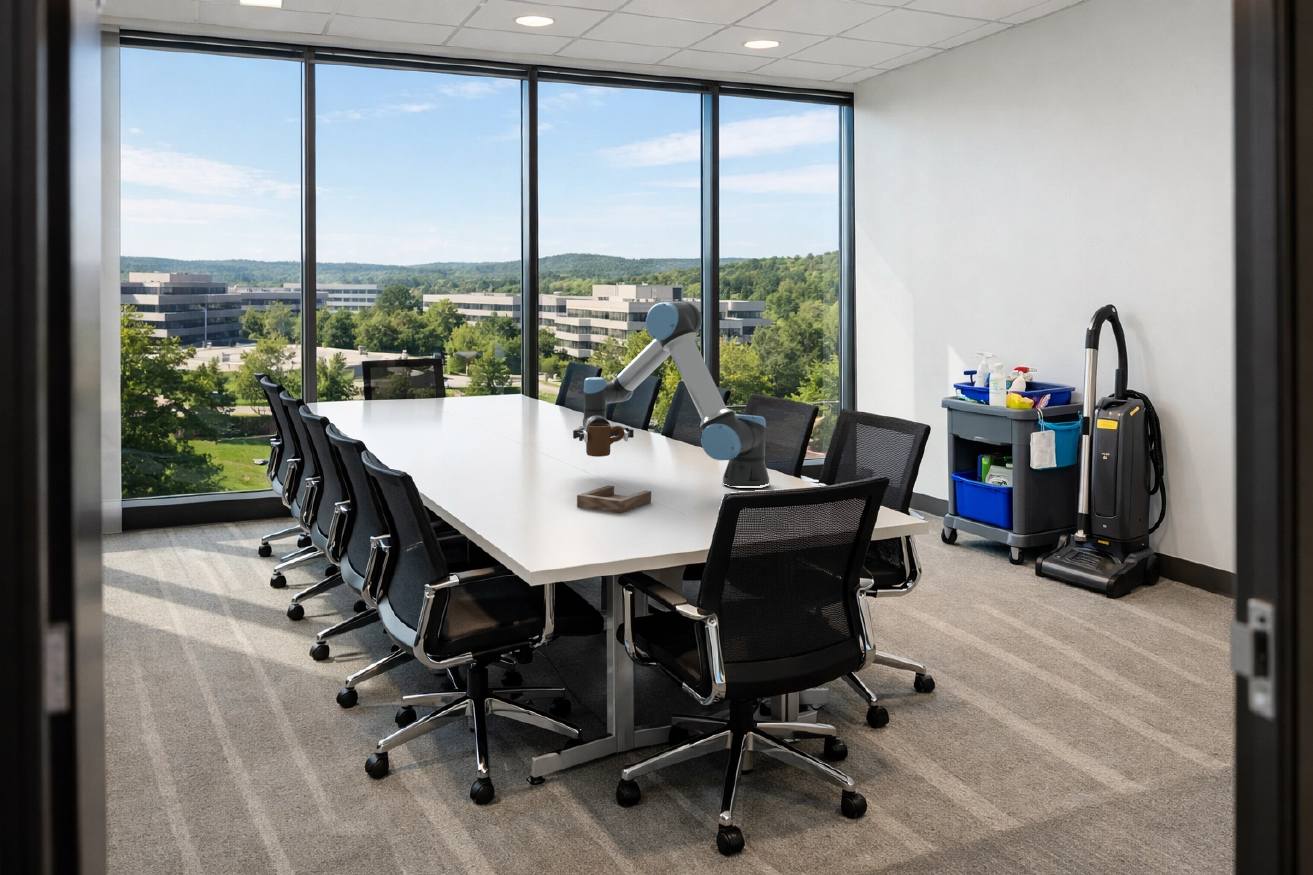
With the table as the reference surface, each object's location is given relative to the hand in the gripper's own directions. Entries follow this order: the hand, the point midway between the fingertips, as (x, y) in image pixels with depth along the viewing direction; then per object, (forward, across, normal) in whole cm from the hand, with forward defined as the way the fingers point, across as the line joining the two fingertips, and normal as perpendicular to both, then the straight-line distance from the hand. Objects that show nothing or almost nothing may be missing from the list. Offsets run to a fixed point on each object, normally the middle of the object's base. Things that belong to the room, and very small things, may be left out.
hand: (606, 437), depth 310 cm
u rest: (+18, 0, -17) cm, 25 cm away
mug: (-4, 0, -6) cm, 7 cm away
